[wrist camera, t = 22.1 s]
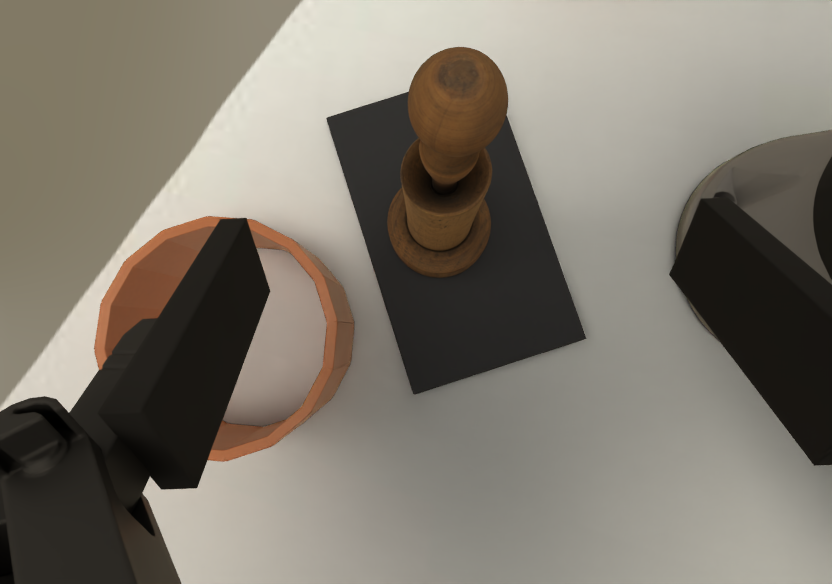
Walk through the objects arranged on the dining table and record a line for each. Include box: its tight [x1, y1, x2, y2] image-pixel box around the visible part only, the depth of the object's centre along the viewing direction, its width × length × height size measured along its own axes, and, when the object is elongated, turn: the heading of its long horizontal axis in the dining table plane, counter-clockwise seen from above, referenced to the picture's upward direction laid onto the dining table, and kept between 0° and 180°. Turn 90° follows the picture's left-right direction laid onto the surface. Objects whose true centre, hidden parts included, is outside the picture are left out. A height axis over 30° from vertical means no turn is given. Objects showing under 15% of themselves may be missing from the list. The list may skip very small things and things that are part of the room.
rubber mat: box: [327, 92, 586, 394], centre depth 30 cm, size 12×20×1 cm, turn 18°
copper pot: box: [94, 216, 354, 462], centre depth 27 cm, size 13×13×6 cm
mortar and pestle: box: [387, 47, 508, 278], centre depth 21 cm, size 7×6×18 cm
